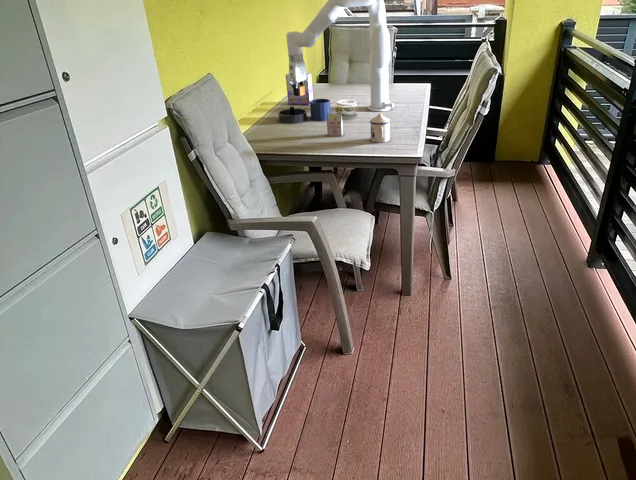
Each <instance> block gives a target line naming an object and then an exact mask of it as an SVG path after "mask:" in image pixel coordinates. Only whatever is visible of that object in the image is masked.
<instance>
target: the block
mask: <svg viewBox="0 0 636 480" xmlns="http://www.w3.org/2000/svg"><path fill="white" fill-rule="evenodd" d="M298 88H299V96H302V95H305V86H302V85H298ZM293 92H294V91H293Z"/></svg>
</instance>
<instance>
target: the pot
mask: <svg viewBox="0 0 636 480" xmlns="http://www.w3.org/2000/svg"><path fill="white" fill-rule="evenodd" d="M309 108H310V109H309V110H310V119H311V120H312V121H314V122H325V121H326V122H327V114H332V109H331V100H330V99H328V98H313V100H311V101H310V105H309Z"/></svg>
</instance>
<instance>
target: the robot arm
mask: <svg viewBox="0 0 636 480" xmlns="http://www.w3.org/2000/svg"><path fill="white" fill-rule="evenodd" d="M358 7H366V8H367V10H368V22H369V23H368V24H369V33H368V34H369V38H370V49H371V50H370V52H369V70H370V105H368V106H367V109H368V111H372V112H387V111H390V110H391V108H394V107H395V103H394V102H391V100H390V99H389V64H390V62H391V38H390V37H391V36H390V31H389V29H388V27H387V16H386V15H387V13H386V6H385V2H384V0H327V1H326V3H325V4H324V5H323V6H322V8H321V9H320V10H319V11H318V13H317V14H316V16H315V17H314V18H313V19H312V20H311V22H310V23H309V24H308V25H307V27H305V29H304V30H303V32H300V31H288V32H286V35H285V36H286V45H287V54H288V73H289V78H290V81H289V84H290V85H291V86H292V88H293V91H294V96H299V88H298V82H299V84H300V85H302V86H305V81H306V79H307V73H308V72H307V67H306V62H305V60H304V52H303V48H312V47H314V46H315V44H316V42H317V40H318V39H319V37H320V36H321V35H322V34H323V33H324V31H326V29H328V27H331V26H332V25H333V24H334V23H335V21H336V20H337V19H338V18H339V17H340V15H341V14H342V13H343V12H344V11H345V9H346V8H358ZM294 81H296V82H294ZM295 83H296V85H295Z"/></svg>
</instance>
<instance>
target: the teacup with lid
mask: <svg viewBox="0 0 636 480" xmlns="http://www.w3.org/2000/svg"><path fill="white" fill-rule="evenodd" d="M369 123H370V141H371V142H373V143H378V144H379V143H387V142H389V141H390V136H391V135H390V131H391V130H390V128H391V127H390V125H391V124H390V123H391V120H390V117H389V118H388V117H386V116H384V115H383V114H382V113H378V114H377V115H376V116H375V117H372V118H370V120H369Z"/></svg>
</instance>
